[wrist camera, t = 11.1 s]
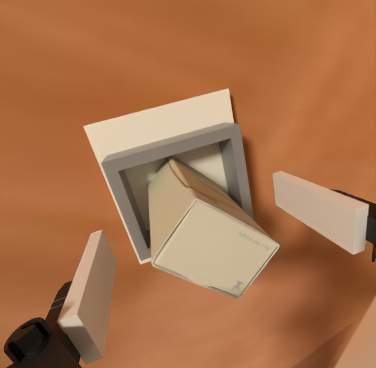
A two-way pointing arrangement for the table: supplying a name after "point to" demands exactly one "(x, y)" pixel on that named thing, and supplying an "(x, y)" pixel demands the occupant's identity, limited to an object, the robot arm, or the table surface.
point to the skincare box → (203, 232)
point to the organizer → (166, 146)
